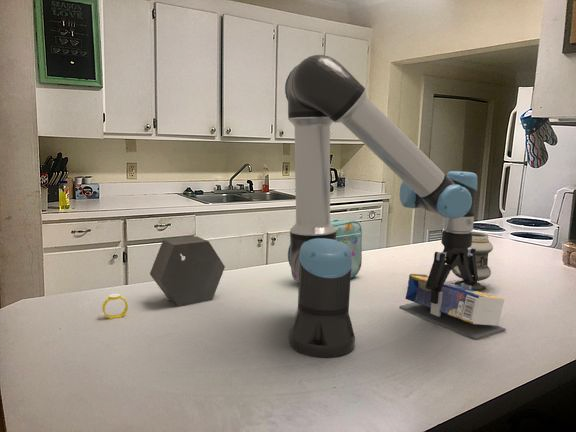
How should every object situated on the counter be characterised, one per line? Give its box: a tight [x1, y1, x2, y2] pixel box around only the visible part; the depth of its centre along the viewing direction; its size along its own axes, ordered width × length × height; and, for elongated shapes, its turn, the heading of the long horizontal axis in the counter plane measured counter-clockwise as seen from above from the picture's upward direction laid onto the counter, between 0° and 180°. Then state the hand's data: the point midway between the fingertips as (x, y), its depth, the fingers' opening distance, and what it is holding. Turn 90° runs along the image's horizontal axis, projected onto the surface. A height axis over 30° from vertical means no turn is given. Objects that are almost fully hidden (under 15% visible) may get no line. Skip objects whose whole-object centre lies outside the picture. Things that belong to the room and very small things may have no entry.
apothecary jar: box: [451, 231, 494, 292], centre depth 158 cm, size 12×12×18 cm
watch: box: [102, 293, 129, 320], centre depth 122 cm, size 6×3×6 cm, turn 120°
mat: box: [399, 302, 506, 341], centre depth 130 cm, size 12×25×1 cm, turn 33°
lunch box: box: [290, 218, 363, 283], centre depth 159 cm, size 27×10×21 cm, turn 131°
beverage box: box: [405, 275, 505, 326], centre depth 128 cm, size 7×11×22 cm
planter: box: [149, 235, 226, 307], centre depth 136 cm, size 17×8×21 cm
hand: (450, 311), depth 129 cm, fingers closed on beverage box, 11 cm apart
